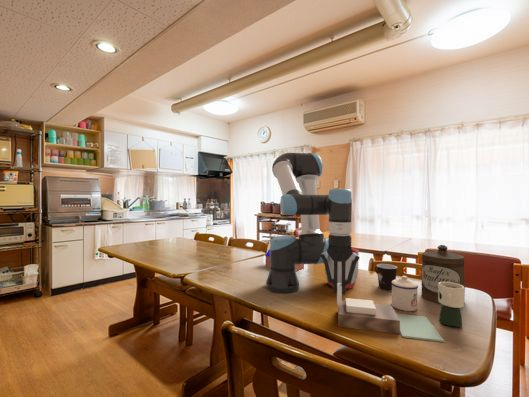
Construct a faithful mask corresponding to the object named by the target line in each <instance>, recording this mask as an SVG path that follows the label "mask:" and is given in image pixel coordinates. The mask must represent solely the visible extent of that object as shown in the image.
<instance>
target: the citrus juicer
mask: <svg viewBox="0 0 529 397" xmlns="http://www.w3.org/2000/svg"><path fill="white" fill-rule="evenodd" d="M351 248H352V250H353V253H355V254H356V255H358V256H359V252H360V249H358V248H355V247H351ZM359 257H360V256H359ZM327 260H328V264H329V268H330V272H331V276H332V278H333V279H334V261H333V260H332V258H331V257H330V256H329V255H328V258H327ZM351 263H352V255H351V256H350V258H349V259H348V260H347V261H346V267H345V280H346V279H347V278H348V274H349V270H350V266H351ZM324 271H325V276H326V281H327V284H328V285H329V286H331V287H333V288H334V284H333V283H331V282H329V281H328V277H327V273H326V269H325V268H324ZM358 274H359V260H358V261H357V263H356V266H355V270H354V273H353V277H352V281H351V283H350V284H346V286H345V289H352V288H353V287H354V286H355V285H356V281H357V279H358ZM337 283H342V262H340V261H339V262H338V273H337Z"/></svg>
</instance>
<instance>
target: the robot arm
mask: <svg viewBox="0 0 529 397" xmlns="http://www.w3.org/2000/svg"><path fill="white" fill-rule="evenodd" d="M322 161H323V160H322V158H321V156H320V155H319V154H318V153H314V152H313V153H312V152H285V153H283V154H282V153H281V154H280V155H279V156H277V158H275V159H274V161H273V163H272V165H271V168H272V169H271V170H272V171H271V172H272V175H273V176H274V178H275V179H277V182H278V186H279V188H280V191H281V194H282V195H281V196H280V204H279V206H280V212H281V214H283V215H286V216H288V215H289V216H300V225H301V227H300V228H301V231H300V233H299V234H298V238H297V237H296V235H293V234H289V235H288V234H283V235H278V236H274V237H272V238H271V239H270V242H269V243H270V244H269V249H270V268H269V272H268V274H267V278H266V280H265V289H266V290H268V291H269V292H272V293H277V294H278V293H279V294H290V293H295V292H297V291H298V290H299V289H300V282H299V278H298V275H297V272H296V271H295V266H296V264H304V265H318V264H319V265H320V264H324V270H325V269H326V273H327V277H328V281H329V282H331V283H333V284H334V287H333V294H335V295H336V305H337V306H338V305H342V301H343V298H342V297H343V296H342V295H346V288H345V286H346V284H350V283H351V281H352V277H353V273H354V270H355V266H356V263H357V261H358V262H359V260H360V256H358V255H356V254H355V253H353V250H352V248H353V247H352V235H351V234H352V214H353V213H352V212H353V209H352V206H353V198H352V190H351V189H349V188H332V189H331V188H330V189H329V190H328V194H318V188H317V182H319V180H320V177H321V176H322V174H323V162H322ZM322 215H323V216H328V233H329V234H328V238H326V237H325V235H324V232H322V231H321V229H320V228H321V227H320V225H321V224H320V216H322ZM328 255H329V256H330V257H331V258H332V260H333V261H334V279H333V278H332V276H331V272H330V268H329V264H328V260H327V258H328ZM351 255H352V263H351V266H350V270H349V274H348V278H347V279H346V280H345V267H346V261H347V260H348V259H349V258H350V256H351ZM339 261H340V262H342V283H337V273H338V262H339ZM326 273H325V274H326ZM328 281H327V282H328Z"/></svg>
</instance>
